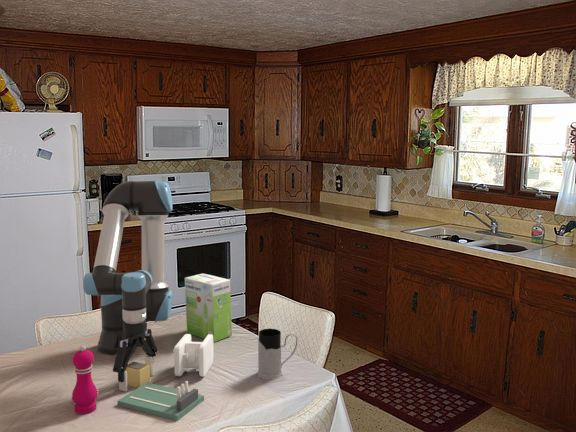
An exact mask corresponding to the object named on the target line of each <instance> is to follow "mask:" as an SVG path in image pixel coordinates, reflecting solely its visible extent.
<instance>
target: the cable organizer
mask: <svg viewBox="0 0 576 432" xmlns="http://www.w3.org/2000/svg"><path fill="white" fill-rule="evenodd" d="M173 347H174V348H173V349H172V353H173V354H174V355H173V359H174V366H173V367H174V376H175V377H182V376H183V374H184V372H185V371H186V372H187V373H189V369H195V373H197V372H199V373H198V375H199V377H202V378H204V377H206V375H207V373H208V372H209V370H210V368H211V367H212V365H213V363H214V342H213V335H212V334H208V335H207V337H206V338H205V339H204V340H203V341H192V334H189V333H185V334H184V335H183V336H182V338H180V339H179V341H178V342H177V343H176V344H175V346H173Z"/></svg>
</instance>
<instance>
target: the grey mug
mask: <svg viewBox="0 0 576 432" xmlns="http://www.w3.org/2000/svg"><path fill="white" fill-rule="evenodd" d="M281 335H282V333H281V330H279V329H276V328H263V329H261V330H259V331H258V338H257V339H258V345H257V346H258V348H257V351H258V353H257V355H258V361H257V363H258V365H257V366H258V370H257V373H256V375H257V377H259V378H261V379H264V380H275V379H276V380H277V379H278V378H281V377H282V376H283V372H282V368H283V365H284V364H285V363H286V362H287V361H288V360H290V358H292V356H293V355H294V354H295V352H296V350H297V347H298V336H296V335H295V333H289V334H287V335H285V338H284V344H283V345H281V343H282V342H281V341H282V340H281V338H282V337H281ZM289 336H294V337H295V339H296V340H295V345H294V349H293V351H292V352H291V353H290V355H289V356H288V357H287V358H286V359H284V360H283V361H282V348H284V347H285V346H286V345H287V339H288V337H289Z"/></svg>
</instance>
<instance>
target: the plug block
mask: <svg viewBox="0 0 576 432" xmlns="http://www.w3.org/2000/svg"><path fill="white" fill-rule="evenodd" d="M125 371H127V386H130V387H131V386H132V387H135V388H139V387H140V386H142V385H144V384H145V383H151V376H150V365H147V364H145V363H144V362H143V363H142V362H138V361H130V362H128V365H127V367H126V370H125Z"/></svg>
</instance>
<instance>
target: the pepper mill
mask: <svg viewBox="0 0 576 432" xmlns="http://www.w3.org/2000/svg"><path fill="white" fill-rule="evenodd" d="M86 347H87V346H86V345H80V346H79V350H78V351H76V352H75V353H74V354H73V355H72V358H71V360H72V364H73V365H74V373H75V374H76V383H75V385H74V388H73V390H72V394H71V399H72V402H73V403H74V405H73V409H74V413H76V414H78V415H87V414H90V413H92V412H94V411H96V410H97V401H96V400H97V398H98V389H97V387H96V385H95V383H94V382H93V379H92V372H93V371H94V370H93V369H94V368H93V363H94V360H95V358H94V357H95V356H94V353H93V352H92V351H91V350H89V349H86Z"/></svg>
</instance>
